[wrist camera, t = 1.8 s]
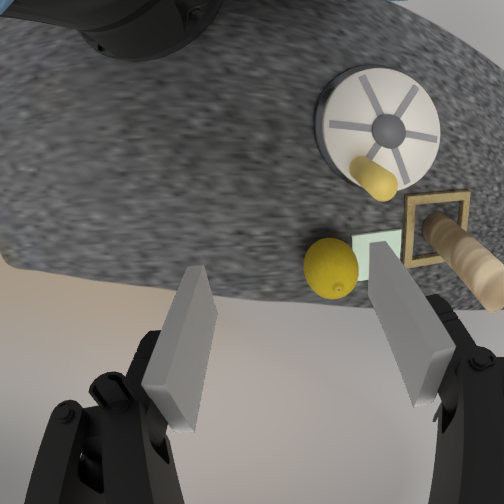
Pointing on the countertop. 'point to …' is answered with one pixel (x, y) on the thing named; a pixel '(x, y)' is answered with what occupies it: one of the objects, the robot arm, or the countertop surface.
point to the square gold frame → (410, 221)
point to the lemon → (331, 268)
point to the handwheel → (381, 130)
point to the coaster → (362, 247)
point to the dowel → (467, 259)
